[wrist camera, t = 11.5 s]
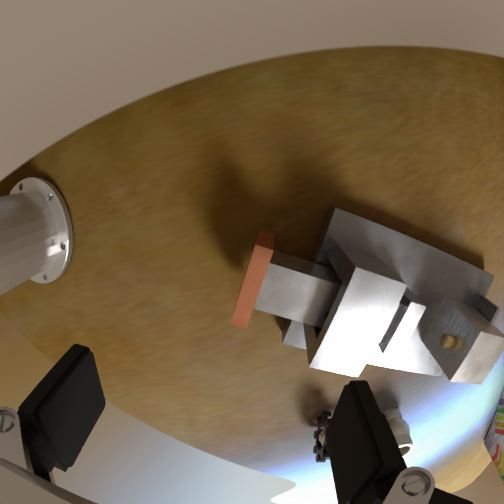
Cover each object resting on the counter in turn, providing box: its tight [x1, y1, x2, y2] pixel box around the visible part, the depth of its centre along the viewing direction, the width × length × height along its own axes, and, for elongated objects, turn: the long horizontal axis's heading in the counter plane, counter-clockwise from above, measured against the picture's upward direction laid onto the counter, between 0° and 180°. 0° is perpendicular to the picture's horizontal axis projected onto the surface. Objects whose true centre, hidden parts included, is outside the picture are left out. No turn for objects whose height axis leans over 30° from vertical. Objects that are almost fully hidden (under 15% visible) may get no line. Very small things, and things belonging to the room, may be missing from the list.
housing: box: [421, 297, 504, 384], centre depth 21 cm, size 6×5×7 cm
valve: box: [313, 408, 413, 462], centre depth 28 cm, size 7×7×12 cm
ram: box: [230, 229, 426, 358], centre depth 22 cm, size 14×6×5 cm, turn 73°
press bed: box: [282, 205, 500, 377], centre depth 22 cm, size 20×13×8 cm, turn 73°
